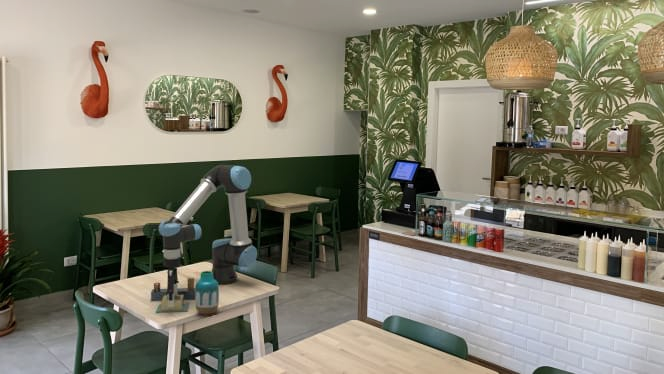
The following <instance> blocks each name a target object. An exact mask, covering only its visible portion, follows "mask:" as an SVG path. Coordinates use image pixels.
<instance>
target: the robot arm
mask: <svg viewBox="0 0 664 374" xmlns="http://www.w3.org/2000/svg"><path fill="white" fill-rule="evenodd" d="M251 183H252V174H251V173H250V171H249V169H247V168H246V167H244V166H241V165H230V164H229V165H228V164H219V165H217V166H215V167H213V168H212V169H210V170H209V171H208V172H207V173H205V174H204V176H203V177H202V178H201V179H200V183H199V184H198V186H197V187H196V188H195V189H194V190H193V191H192V193H190V195H189V196H188V197H187V198H186V199H185V201H184V202H183V203H182V204H181V206H180V207H179V208H177V210H176V211H175V213H173V215H172V216H171V217H170V218H169V219H168V220H164V221H162V222H160V224H159V225H158V232H159V234H160V235H161V236H162V243H163V244H162V246H163V247H162V248H163V250H162V251H161V252H162V253H163V266H164V267H165V268H168V270H167V272H166V273H167V287H166V289H167V292H166V294H168V307H174V295H178V291H177V288H178V284H179V283H180V281H179V277H178V269H177V268H178V267H180V266H181V264H182V263H181V261H182V260H181V244H182V243H183V244H184V243H186V242H191V241H196V240H199V239H200V238H201V237H202V228H201V226H200V225H199V224H198V223H197V224H196V223H194V224H193V223H191V224H187V223H188V222H189V221H190V220H191V218H193V216H194V215H195V214H196V213H197V211H198V210H199V209H200V208H201V206H202V205H203V204H204V203H205V201H206V200H207V199H208V198H209V197H210V196H211V194H212V193H215V192H217V191H218V189H220V188H223V189H224V193H225V194H226V195H227V196H228V197H227V198H228V208H229V219H230V230H231V237H230V238H228V237H227V238H220V239H216V240H214V241H213V242H212V247H211V249H212V250H211V253H212V254H211V255H212V257H211V258H212V259H211V260H212V268H211V271H212V272H213V278H214V279H215V280H216V281H217V282H218V285H230V284H233V283H236V282H237V281H238V274H237V270H236V268H235V266H236V267H237V266H238V267H241V268H249V267H252V266H253V264H254V263H255V261H256V260H257V257H258V249H257V248H256V247H255V246H254V245H253V242H252V239H251V238H249V230H248V229H249V228H248V215H247V205H246V204H247V203H246V193H248V189H249V188H250V186H251ZM169 290H171V291H169Z"/></svg>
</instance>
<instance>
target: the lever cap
mask: <svg viewBox="0 0 664 374" xmlns="http://www.w3.org/2000/svg"><path fill="white" fill-rule="evenodd" d="M184 301H185V300H184V295H174V307H168V295H164V296H163V299H162V301H160V302H161V305H162V311H171V310H182V308H183V305H184V303H185V302H184Z"/></svg>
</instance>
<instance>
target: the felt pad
mask: <svg viewBox="0 0 664 374" xmlns="http://www.w3.org/2000/svg"><path fill="white" fill-rule="evenodd" d="M189 308H190V303H189V302H186V303H185V302H184V305H183V308H182V310H171V311H162V305H161V304H158V306H157V308H156V310H155V314H162V313H164V314H165V313H187V312H188V311H189Z"/></svg>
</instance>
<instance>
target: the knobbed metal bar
mask: <svg viewBox="0 0 664 374" xmlns="http://www.w3.org/2000/svg"><path fill="white" fill-rule="evenodd" d="M186 282H187V287H177V291H178V295H184V301H193V300H194V301H195V278H194V277H187V281H186ZM169 291H171V290H169ZM166 292H167V288H161V282H154V283H153V289H151V291H150V301H151V302H161V301H162V299H163V296H164V295H168V294H166Z"/></svg>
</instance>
